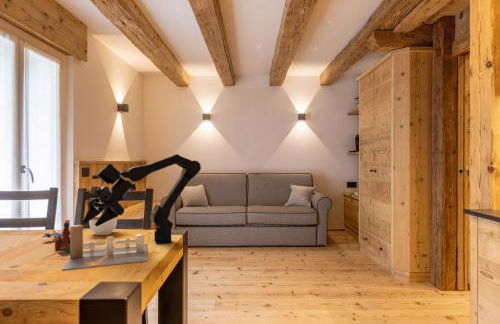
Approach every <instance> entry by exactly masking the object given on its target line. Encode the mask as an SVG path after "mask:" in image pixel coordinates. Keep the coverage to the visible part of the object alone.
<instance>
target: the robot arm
mask: <svg viewBox="0 0 500 324" xmlns="http://www.w3.org/2000/svg"><path fill="white" fill-rule="evenodd" d="M173 165H176V166H178V167H179V168H181V169H182V170H181V173H180V176H179V178H177V180H176V182H175V184H174V185H173V187H172V188H171V190H170V191H169V192H168V194H167V196H166V197H165V198H164V200H163V201H162V202H161V203H160V204H159V205H158V204H155V205H154V207H153V209H152V210H151V211H150V218H149V219H150V221H151V222H152V223H153V224H155V225H154V226H155V230H154V232H153V233H154V234H153V236H154V237H153V239H154V242H155V244H157V245H160V244H161V245H162V244H170V243H173V241H172V228H173V225H174V224H173V223H172V222H171V221H170V220H169V217H170V214H171V211H172V207H174V205H175V203H176V202H177V200H178V199H179V197H180V195H181V194H182V192H183V191H184V190H185V187H186V186H187V185H188V183H189V182H190V181H191V180H192V179H193V178H195V177H196V175H198V174H199V172H200V171H201V169H202V166H201V163H200V162H199V161H198V160H191V159H189V158H186V157H184V156H181V155H180V154H178V153H175V154H172V155H170V156H168V157H165V158H162V159H159V160H156V161H153V162H151V163H148V164H145V165H138V166H133V167H128V168H127V169H126V170H125V171H122V170H121V171H120V170H118V169H116V167H114V165H113V163H110V162H109V163H108V164H107V165H105V167H104V168H102V169H100V170H99V172H98V173H97V174H96V176H97V178H99V179H101V181H102V182H103V183H105V184H106V185H112V187H111V188H110V187H109V186H106V185H103V186H94V185H93V186H91V189H90V191H89V193H88V194H89V195H90V196H94V197H95V198H94V197H89V199H87V201H86V205H87V211H86V213H85V215H84V218H83V220H82V224H87V223H89V221H90V220H91V219H93V218H94V217H96V216H97V215H99V214H100V213H102V211H104V212H103V213H102V215H101V216H100V217H99V219H98V220H97V222H96V223H95V225H96V226H99V225H101V224H103V223H105V222H107V221H109V220H111V219H113V218H115V217H117V218H118V217H119V216H123V215H124V213H125V208H124V206H123V205H121V203H120V202H123V201H124V200H125V199H124V197H125V195H127V193H128V192H129V191H131V192H134V191H137V188H136V183H132V182H140V181H141V180H143V179H145V178H146V177H147V176H149V175H150V174H152V173H155V172H157V171H160V170H162V169H165V168H168V167H171V166H173ZM124 178H126V179H124ZM113 184H114V185H113Z"/></svg>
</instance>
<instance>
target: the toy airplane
mask: <svg viewBox="0 0 500 324" xmlns="http://www.w3.org/2000/svg"><path fill="white" fill-rule="evenodd" d="M63 231H64V229H62V232H63ZM52 232H53V233H45V234H44V235H43V236H41V237H42V238H52V237H53V238H55V239H57V237H58V236H62V232H60V231H58V230H56V229H55V230H54V231H53V230H52Z"/></svg>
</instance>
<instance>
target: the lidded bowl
mask: <svg viewBox="0 0 500 324" xmlns="http://www.w3.org/2000/svg"><path fill="white" fill-rule="evenodd" d="M103 212H104V210H103V211H101V212H100V214H99V215H97V216H96V217H94V218H93V219H91V220H90V221H88V223H89V228H90V230H91V231H92V233H94V234H95V235H96V236H107V235H111V234H112V233H113V231H114V230H116V227H117V224H118V217H115V218H113V219H111V220H109V221H107V222H105V223H103V224H101V225H99V226H96V225H95V223H96V222H97V220H98V219H99V217H100V216H101V215H102V213H103Z"/></svg>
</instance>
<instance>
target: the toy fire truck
mask: <svg viewBox="0 0 500 324" xmlns="http://www.w3.org/2000/svg"><path fill="white" fill-rule="evenodd" d="M70 222H71V221H70V219H66V220H65V221H64V223H63V230H64V231H63V230H62V231H63V232H61V233H62V236H58V235H57V236H58V237H56V238H55V240H54V250H60V249H61V248H67V247H69V246H70V226H71V225H70Z"/></svg>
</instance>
